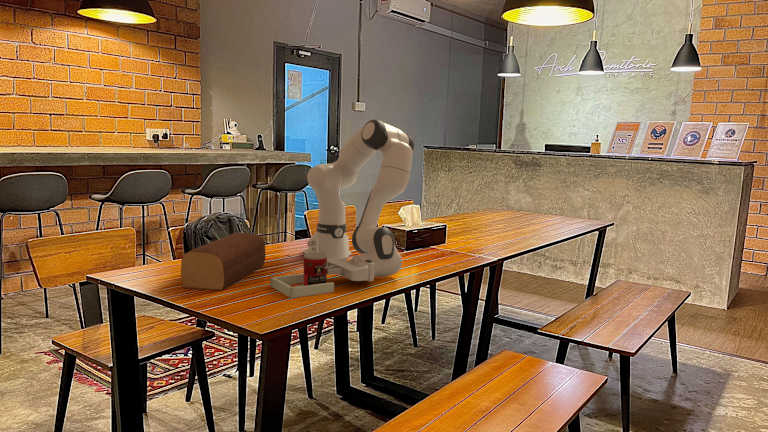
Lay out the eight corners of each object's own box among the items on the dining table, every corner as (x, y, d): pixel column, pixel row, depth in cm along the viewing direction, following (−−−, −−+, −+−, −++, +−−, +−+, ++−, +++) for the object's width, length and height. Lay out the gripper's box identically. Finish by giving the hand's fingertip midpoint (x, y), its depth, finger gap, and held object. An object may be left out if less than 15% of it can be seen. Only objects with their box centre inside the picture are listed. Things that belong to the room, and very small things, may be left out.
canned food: (307, 291, 192) (307, 258, 190) (300, 285, 199) (300, 253, 198) (329, 289, 195) (330, 256, 193) (322, 283, 202) (322, 252, 201)
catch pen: (270, 286, 197) (270, 277, 196) (311, 280, 205) (311, 272, 205) (291, 298, 183) (291, 288, 183) (333, 292, 192) (334, 283, 191)
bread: (179, 289, 191) (178, 248, 189) (228, 263, 229) (228, 229, 228) (224, 292, 189) (224, 251, 187) (266, 266, 227) (266, 232, 225)
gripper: (345, 253, 214) (311, 256, 206) (376, 263, 197) (340, 268, 190) (345, 269, 215) (311, 274, 207) (376, 282, 198) (340, 287, 191)
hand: (325, 271), depth 198 cm, fingers closed, pressing on canned food
